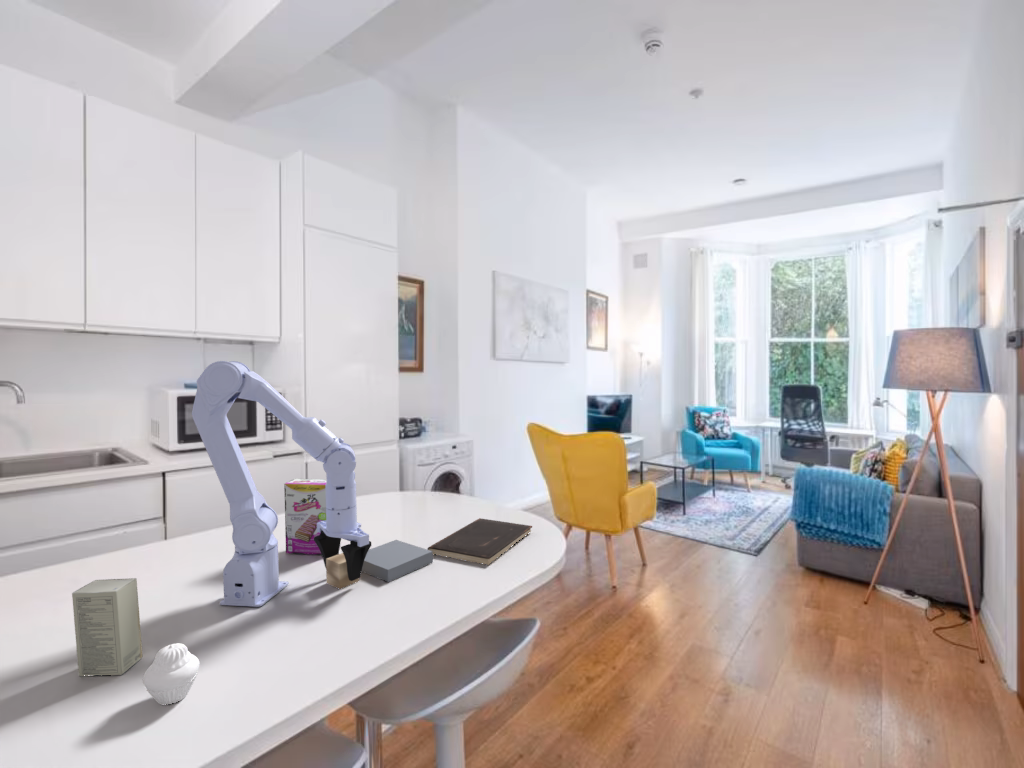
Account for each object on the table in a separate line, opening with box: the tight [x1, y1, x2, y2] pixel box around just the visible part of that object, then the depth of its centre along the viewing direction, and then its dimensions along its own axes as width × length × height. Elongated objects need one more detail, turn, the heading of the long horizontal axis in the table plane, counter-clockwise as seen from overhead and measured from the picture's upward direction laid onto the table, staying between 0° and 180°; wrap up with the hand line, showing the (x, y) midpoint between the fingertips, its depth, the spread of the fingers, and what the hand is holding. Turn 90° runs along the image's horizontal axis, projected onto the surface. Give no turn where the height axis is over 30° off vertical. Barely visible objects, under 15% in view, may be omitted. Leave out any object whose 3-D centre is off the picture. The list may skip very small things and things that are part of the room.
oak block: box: [325, 552, 360, 590], centre depth 99 cm, size 4×4×5 cm
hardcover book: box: [427, 517, 533, 566], centre depth 121 cm, size 16×23×2 cm
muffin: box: [142, 642, 200, 706], centre depth 65 cm, size 6×6×7 cm
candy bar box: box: [283, 478, 341, 556], centre depth 115 cm, size 11×5×16 cm, turn 84°
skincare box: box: [71, 577, 143, 677], centre depth 72 cm, size 6×4×12 cm
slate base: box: [361, 539, 434, 583], centre depth 108 cm, size 12×12×2 cm
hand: (343, 573), depth 99 cm, fingers open, 7 cm apart
